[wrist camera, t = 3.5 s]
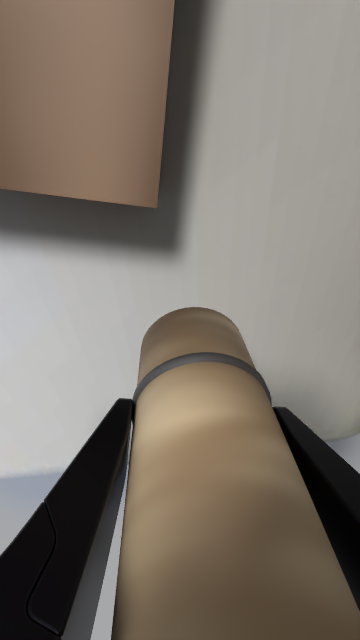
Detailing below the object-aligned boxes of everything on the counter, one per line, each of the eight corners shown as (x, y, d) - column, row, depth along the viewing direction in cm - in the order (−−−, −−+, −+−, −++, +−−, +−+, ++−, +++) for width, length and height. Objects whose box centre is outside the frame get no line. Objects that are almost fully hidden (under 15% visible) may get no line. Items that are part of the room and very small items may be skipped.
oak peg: (257, 309, 11) (646, 961, 2) (232, 395, 13) (380, 901, 4) (141, 299, 10) (40, 1075, 2) (135, 389, 12) (74, 946, 4)
